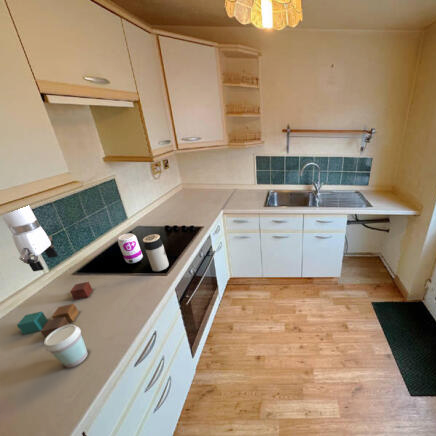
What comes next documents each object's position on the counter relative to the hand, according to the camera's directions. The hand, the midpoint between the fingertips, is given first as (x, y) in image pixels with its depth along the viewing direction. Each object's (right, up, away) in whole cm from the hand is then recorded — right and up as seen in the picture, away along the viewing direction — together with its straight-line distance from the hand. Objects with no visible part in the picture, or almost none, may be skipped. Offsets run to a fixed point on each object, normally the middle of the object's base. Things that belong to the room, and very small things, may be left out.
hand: (46, 263), depth 95 cm
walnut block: (+15, -25, -9) cm, 30 cm away
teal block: (+3, -24, -7) cm, 25 cm away
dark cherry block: (+8, -16, +9) cm, 20 cm away
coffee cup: (+30, -29, -18) cm, 45 cm away
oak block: (+12, -22, -3) cm, 25 cm away
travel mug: (+32, -7, +27) cm, 43 cm away
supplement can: (+14, -5, +33) cm, 36 cm away
